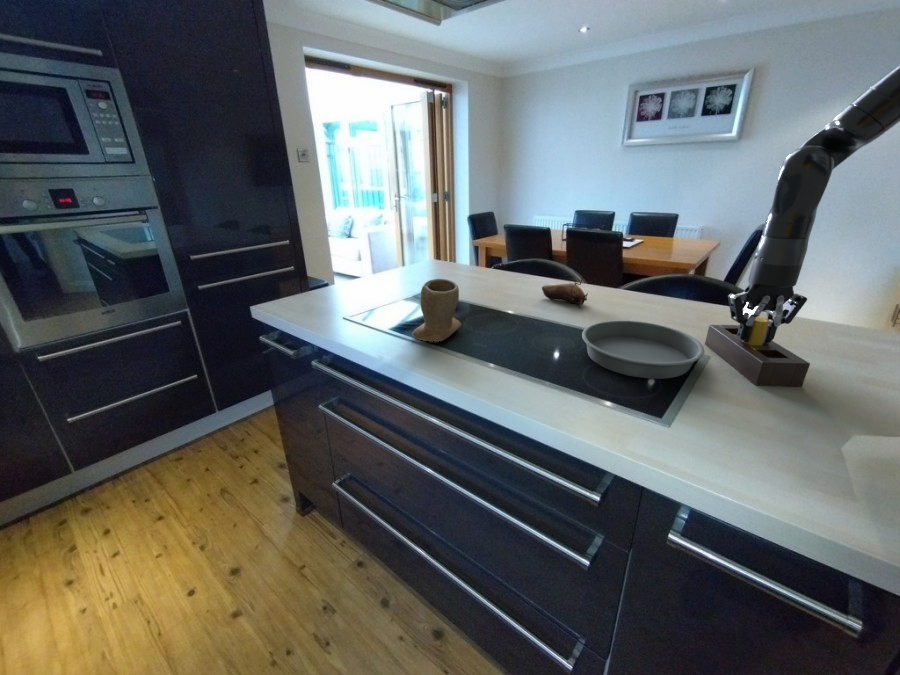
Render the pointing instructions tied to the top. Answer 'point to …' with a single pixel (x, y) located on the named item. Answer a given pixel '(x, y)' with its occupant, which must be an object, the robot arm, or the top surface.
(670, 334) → the cake pan
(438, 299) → the stone cup
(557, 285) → the vegetable
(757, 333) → the peg
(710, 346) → the stand
